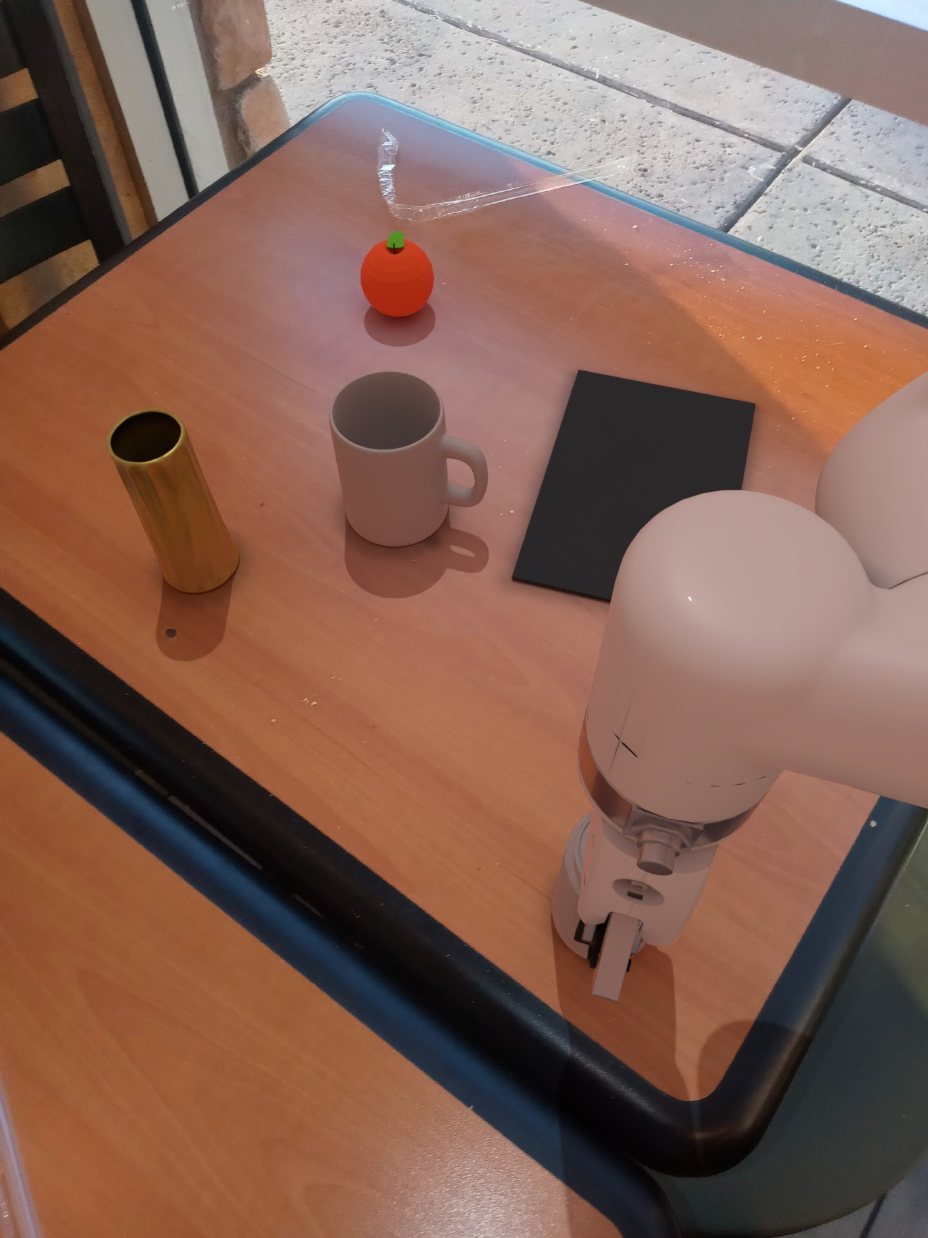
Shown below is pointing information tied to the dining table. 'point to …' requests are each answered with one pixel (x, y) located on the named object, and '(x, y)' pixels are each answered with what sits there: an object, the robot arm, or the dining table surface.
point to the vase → (172, 499)
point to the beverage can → (572, 888)
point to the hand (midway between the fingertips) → (616, 880)
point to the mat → (625, 474)
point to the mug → (398, 458)
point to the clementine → (397, 276)
